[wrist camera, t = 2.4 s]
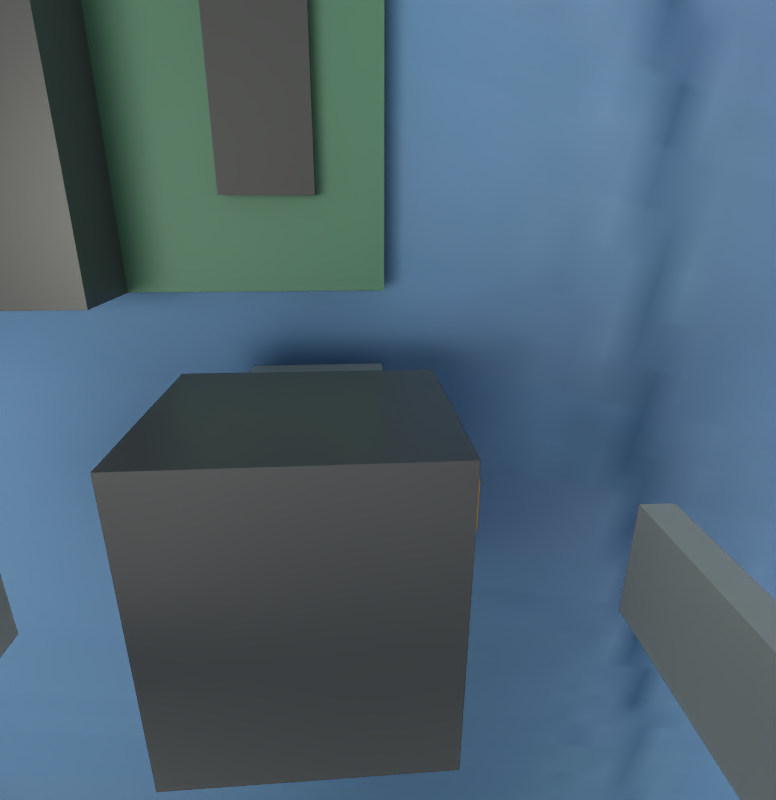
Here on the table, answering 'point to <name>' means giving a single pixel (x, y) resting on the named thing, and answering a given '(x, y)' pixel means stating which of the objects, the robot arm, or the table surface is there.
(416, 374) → the plug
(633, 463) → the table surface
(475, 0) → the table surface
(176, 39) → the board
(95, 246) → the fan
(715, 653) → the robot arm
